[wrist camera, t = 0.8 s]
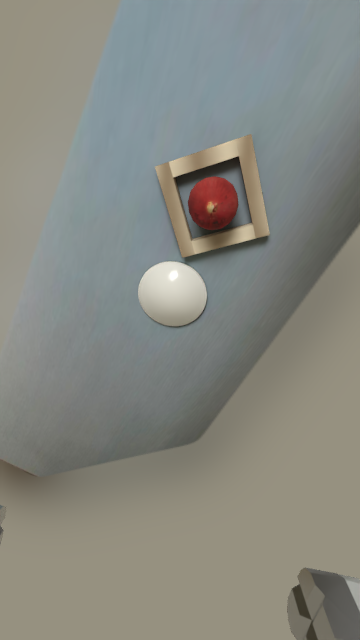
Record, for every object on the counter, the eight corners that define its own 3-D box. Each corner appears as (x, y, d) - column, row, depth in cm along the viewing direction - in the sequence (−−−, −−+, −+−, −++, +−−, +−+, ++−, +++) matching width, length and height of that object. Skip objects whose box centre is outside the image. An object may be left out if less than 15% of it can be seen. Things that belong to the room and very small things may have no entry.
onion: (238, 220, 42) (241, 234, 35) (194, 226, 43) (188, 240, 36) (235, 171, 40) (237, 175, 33) (188, 178, 41) (180, 184, 34)
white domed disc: (196, 253, 45) (195, 254, 44) (214, 316, 49) (214, 318, 48) (129, 270, 47) (128, 272, 47) (152, 330, 51) (151, 332, 51)
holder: (250, 134, 38) (251, 134, 37) (268, 232, 43) (269, 234, 41) (157, 166, 41) (154, 166, 39) (183, 254, 45) (182, 257, 44)
